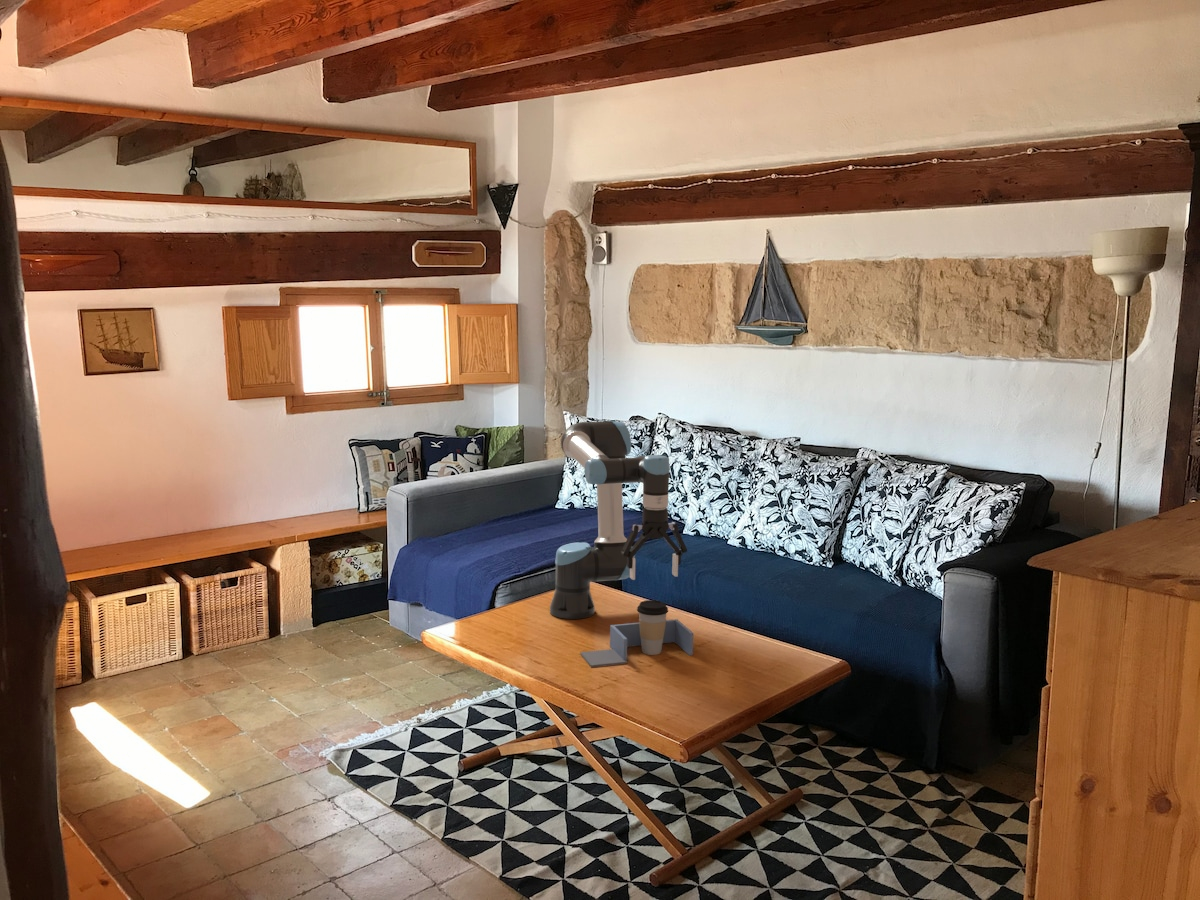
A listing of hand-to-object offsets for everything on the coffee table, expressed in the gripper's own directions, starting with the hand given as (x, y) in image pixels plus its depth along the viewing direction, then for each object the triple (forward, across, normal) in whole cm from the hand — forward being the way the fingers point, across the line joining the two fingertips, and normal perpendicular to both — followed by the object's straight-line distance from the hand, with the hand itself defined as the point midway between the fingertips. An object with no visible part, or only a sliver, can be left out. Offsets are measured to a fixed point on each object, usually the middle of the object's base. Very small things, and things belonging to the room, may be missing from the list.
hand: (653, 577), depth 297 cm
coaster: (+23, -16, -2) cm, 28 cm away
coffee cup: (+24, 0, 0) cm, 24 cm away
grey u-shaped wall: (+23, 0, 0) cm, 23 cm away
